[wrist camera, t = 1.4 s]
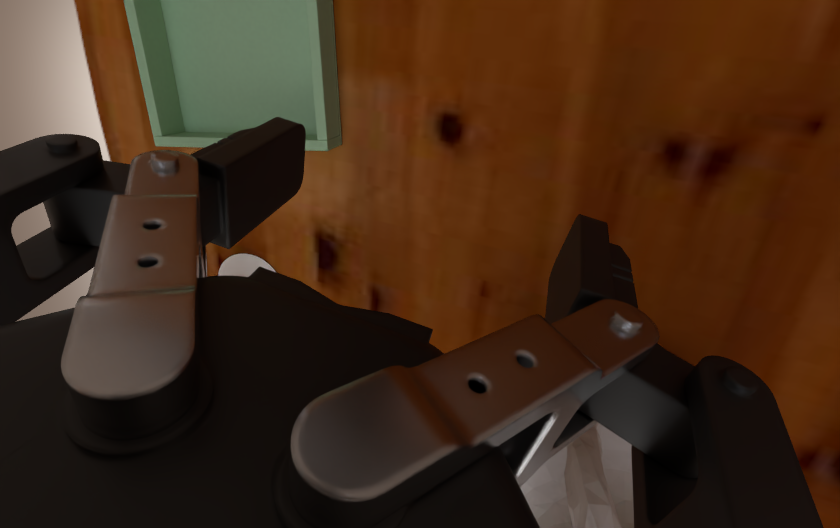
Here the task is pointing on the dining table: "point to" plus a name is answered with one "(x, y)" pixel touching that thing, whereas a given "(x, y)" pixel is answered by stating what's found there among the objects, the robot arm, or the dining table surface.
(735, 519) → the robot arm
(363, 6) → the dining table surface
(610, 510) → the ceramic pitcher
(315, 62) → the green tub
